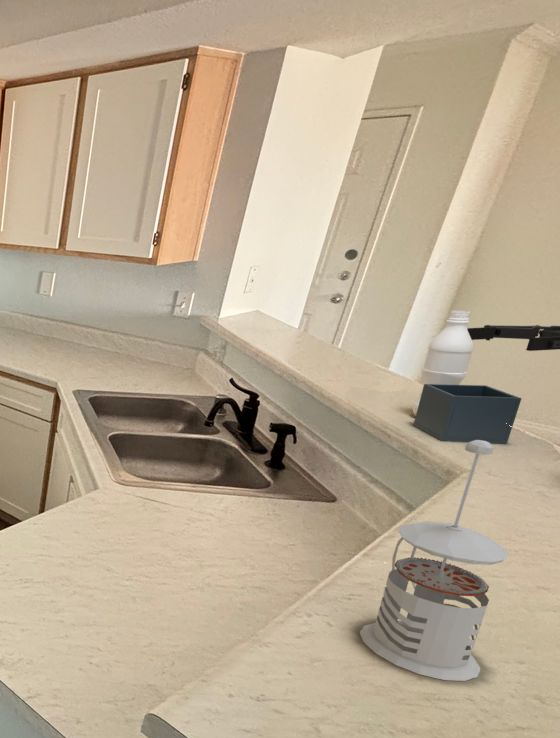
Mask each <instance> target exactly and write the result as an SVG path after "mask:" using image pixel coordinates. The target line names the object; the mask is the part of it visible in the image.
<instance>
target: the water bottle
mask: <svg viewBox="0 0 560 738" xmlns="http://www.w3.org/2000/svg"><path fill="white" fill-rule="evenodd" d="M470 315H471V311H470V310H457V309H456V310H451V311H450V314H449V317H448V318H447V320H446V322H447V324H446V325H445V327H444V328H443V329H442V330H441V331H440V332H439V333H438V334H437V335H436V336H435V337H434V338H433V339H432V340H431V342H430V343H429V345H428V347H427V349H428V350H427V354H426V358H425V361H424V365H423V367H422V370H421V373H422V378H423V384H422V388H421V392H420V394H419V395H418V397H417V398H416V400H414V401H413V405H412V412H413V415H414V416H415V417H416V413H417V410H418V406H419V402H420V398H421V395H422V391H423V387H424V384H445V385H461V383H462V382H463V380H464V379H465V378H466V377H467V374H468V372H467V371H468V366H469V363H470V360H471V357H472V352H474V343H473V340H472V339H471V337H470V335H469V333H468V330H467V328H468V323H470V318H469V317H470Z"/></svg>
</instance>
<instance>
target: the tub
mask: <svg viewBox="0 0 560 738" xmlns="http://www.w3.org/2000/svg"><path fill="white" fill-rule="evenodd" d="M423 384H424V383H423ZM422 389H423V391H422V390H421V392H422V395H421V398H420V402H419V406H418V410H417V413H416V416H415V417H414V421H413V424H412V426H414V427H415V428H417V429H419V430H421V431H423V432H424V433H427V434H428V435H430V436H431V437H433V438H434V439H437V440H439V441H441V442H442V441H443V442H461V443H462V442H463V443H468V442H471V441H474V440H483V441H487V442H489V443H490V444H501V445H503V444H504V445H507V444H508V441H509V440H510V436H511V432H512V430H513V426H514V424H515V420H516V417H517V415H518V411H519V408H520V405H521V402H522V397H519V396H517V395H514V394H511V393H508V392H506V391H503V390H500V389H497V388H494V387H491V386H488V385H483V384H479V385H478V384H477V385H476V384H459V385H445V384H424V387H423V386H422ZM506 423H507V424H506ZM509 425H510V426H512V427H510V426H509Z"/></svg>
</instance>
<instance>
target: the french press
mask: <svg viewBox="0 0 560 738" xmlns="http://www.w3.org/2000/svg"><path fill="white" fill-rule="evenodd" d="M464 446H465V447H464V450H465V451H466V452H468V453H472V454H475V455H474V459H473V462H472V465H471V469H470V472H469V475H468V478H467V481H466V484H465V488H464V491H463V494H462V497H461V501H460V504H459V506H458V510H457V513H456V517H455V520H454V523H451V522H441V521H440V522H438V521H430V520H426V521H419V522H412V523H408V524H404V525H401V526H400V527H399V528H398V530H397V532H398V533H399V535H400V536H401V537H400V539H398V540H397V542H396V545H395V548H394V551H393V555H392V562H391V565H392V566H391V571H389V573H388V575H387V579H386V584H385V585H386V586H384V589H383V596H382V597H381V600H380V606H379V608H378V611H377V615H376V617H375V622H373V623H369V624H365V625H363V627H362V629H361V630H360V631H359V635H360V637H361V640H362V642H363V643H364V644H365V645H366V646H367V647H368V648H369V649H370V650H371V651H372V652H373V653H375V654H376V655H377V656H379V657H381V658H383V660H384V659H385V660H386V661H388V662H390V663H391V664H393V665H395V666H397V667H399V668H403V669H405V670H408V671H410V672H413V673H415V674H417V675H421V676H425V677H430V678H434V679H438V680H442V681H455V682H466V681H469V680H473V679H476V678H478V677H479V674H480V671H481V666H480V665H479V664H478V662H477V660H476V659H475V657H474V656H473V655H472V652H473V649H474V646H475V644H476V640H477V637H478V636H479V635H478V634H479V631H480V629H481V626H482V623H483V620H484V618H485V614H486V611H487V607H488V605H489V602H490V599H489V598H488V596H487V594H486V593H488V591H489V589H490V586H489V584H487V582H486V581H485V580H484V579H483V578H482V577H480V576H478V574H474V572H471V571H470V570H468V569H464V568H463V567H460V566H456V565H455V564H451V563H448V562H447V560H449V561H453V562H457V563H465V564H470V565H485V566H487V565H488V566H491V565H496V564H500V563H502V562H504V561H506V560H507V558H508V555H509V553H508V552H507V551H506V550H505V548H504V547H503V546H502V545H500V544H499V543H498V542H496V541H495V540H493V539H491V538H490V537H489V536H486V535H485V534H483V533H481V532H479V531H476V530H473V529H469V528H467V527H465V526H460V525H459V522H460V518H461V515H462V511H463V508H464V505H465V502H466V499H467V496H468V492H469V489H470V486H471V482H472V479H473V476H474V473H475V470H476V467H477V463H478V460H479V457H480V455H492V454H493V451H494V447H493V444H492V443H489V442H487V441H483V440H474V441H471V442H466V444H465V445H464ZM403 541H404V542H406V543H408V544H409V545H411V546H413V548H412V551H411V554H410V557H405V558H401V559H397V561H396V557H397V554H398V549H399V546H400V545H401V544H402V542H403ZM417 549H418V550H420V551H422V552H424V553H427V554H429V555H431V556H435V557H438V558H441V559H443V560H441V561H439V560H438V559H437V560H436V559H430V558H428V559H427V557H425V558H423V557H415V555H416V553H417ZM409 582H411V584H412V587H413V589H414V590H413V594H412V593H410V592H408V591H407V588H408V585H409ZM467 597H473V598H474V599H476V600H477V601H478V602H479V603H480V606H478V605H477V604H476V603H475V602H474V601H472V599H470V598H467ZM445 600H447V601H455V602H458V603H461V604H465V605H466V606H469V607H470V608H469V607H461V606H458V605H456V604H450V603H444V602H445ZM401 609H402V610H403V611H405V612H406V613H407V614H406V616H405V615H404V614H402V613H401ZM478 625H479V626H478ZM470 637H471V639H470Z"/></svg>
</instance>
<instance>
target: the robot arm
mask: <svg viewBox="0 0 560 738" xmlns="http://www.w3.org/2000/svg"><path fill="white" fill-rule="evenodd" d="M467 330H468V333H469V335H470V337H471V339H472V341H476V340H477V341H478V340H485V341H489V342H490V341H491V340H493V339H516V340H528V343H527V346H526V349H525V350H526V351H528V352H534V351H535V352H536V351H554V350H555V351H556V350H560V325H549V326H548V325H547V326H545V325H543V326H542V325H539V324H536V325H496V324H495V325H492V324H491V325H490V324H485V325H484V326H483V327H467Z"/></svg>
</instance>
